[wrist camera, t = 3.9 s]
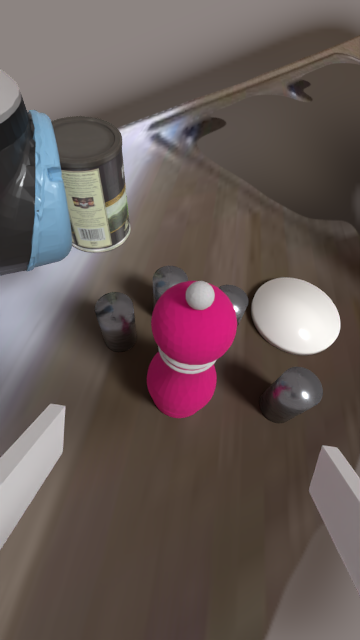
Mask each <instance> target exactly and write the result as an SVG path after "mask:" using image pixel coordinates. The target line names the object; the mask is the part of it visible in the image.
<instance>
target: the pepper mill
mask: <svg viewBox="0 0 360 640" xmlns="http://www.w3.org/2000/svg"><path fill="white" fill-rule="evenodd" d="M151 325H152V332H153V336H154V339H155V341H156V343H157V345H158V349H159V351H158V353H157V354H156V355H155V356H154V357H153V359H152V361H151V363H150V365H149V368H148V373H147V387H148V390H149V393H150V395H151V397H152V399H153V400H154V402H155V404H156V406H157V407H158V409H159V410H160V411H161V412H163V413H164V414H166V415H168V416H170V417H174V418H185V417H188V416H191V415H193V414H194V413H196V412H197V411H198V410H200V409H201V408H203V407H204V406H205V405H206V404H207V403H208V402H209V401H210V399H211V397H212V396H213V393H214V390H215V387H216V381H217V378H216V370H215V366H214V363H215V362H216V360H217V359H218V358H220V357H221V356H223V354H224V353H225V352H226V351H227V350H228V349H229V347H230V346H231V344H232V342H233V340H234V338H235V334H236V329H237V318H236V312H235V309H234V306H233V304H232V303H231V301H230V299H229V298H228V296H227V295H226V294H225V293H224V292H223V291H221V290H220V289H219V288H217V287H216V286H214V285H212V284H209V283H206V282H204V281H186V282H181V283H179V284H176V285H174V286H172V287H171V288H169V289H167V290H166V291H165V292H164V293H163V294H162V295H161V297H160V298H159V299H158V301H157V303H156V305H155V307H154V310H153V313H152V320H151Z"/></svg>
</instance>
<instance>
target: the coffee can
mask: <svg viewBox="0 0 360 640" xmlns="http://www.w3.org/2000/svg"><path fill="white" fill-rule="evenodd" d="M51 123H52V126H53V130H54V134H55V139H56V143H57V148H58V153H59V159H60V166H61V171H62V179H63V182H64V187H65V192H66V198H67V204H68V211H69V217H70V224H71V233H72V245H73V246H74V247H76V248H77V249H79V250H82V251H85V252H105V251H109V250H112V249H114V248H116V247H118V246H120V245H121V244H123V243H124V242H125V241H126V239H127V238H128V236H129V234H130V223H129V215H128V206H127V196H126V186H125V176H124V165H123V156H122V136H121V133H120V132H119V130H118V129H117V128H116V127H115V126H113V125H112V124H110V123H109V122H106V121H104V120H101V119H97V118H92V117H82V116H79V117H78V116H76V117H66V118H61V119H57V120H54V121H51Z"/></svg>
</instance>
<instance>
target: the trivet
mask: <svg viewBox="0 0 360 640" xmlns="http://www.w3.org/2000/svg"><path fill="white" fill-rule="evenodd" d="M251 316H252V320H253V323H254V325H255V327H256V329H257V330H258V332H259V333H260V334H261V336H262V337H263V338H264V339H265V340H266V341H267V342H269V343H270V344H271V345H273V346H274V347H276V348H278V349H280V350H282V351H284V352H287V353H290V354H294V355H313V354H317V353H320V352H322V351H324V350H325V349H326V348H328V347H329V346H330V345H331V344H332V343H333V342H334V341H335V340H336V338H337V336H338V334H339V331H340V317H339V313H338V311H337V309H336V307H335V305H334V303H333V302H332V301H331V299H330V298H329V297H328V296H327V295H326V294H325V293H324V292H323V291H321V290H320V289H319V288H317V287H316V286H314V285H312V284H310V283H308V282H306V281H303V280H299V279H295V278H277V279H273V280H270V281H268V282H266V283H265V284H263V285H262V286H261V287H260V288H259V289H258V290H257V292H256V294H255V296H254V298H253V300H252V303H251Z"/></svg>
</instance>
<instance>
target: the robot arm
mask: <svg viewBox="0 0 360 640" xmlns="http://www.w3.org/2000/svg"><path fill="white" fill-rule="evenodd" d="M71 248H72V233H71V224H70V217H69V211H68V204H67V198H66V192H65V187H64V182H63V179H62V171H61V166H60V159H59V153H58V148H57V143H56V139H55V134H54V130H53V126H52V123H51V120H50V118H49V117H48V116H47V115H46V114H44V113H38V112H37V111H36V110H29V112H28V113H27V110H26V107H25V104H24V101H23V98H22V95H21V92H20V89H19V87H18V85H17V83H16V82H15V80H14V79H13V78H11V77H10V76H9V75H8V74H6V73H5V72H4V71H2V70H1V69H0V275H5V274H10V273H15V272H20V271H25V270H26V271H30V270H33V269H34V267H38V266H42V265H46V264H50V263H54V262H58V261H61V260H62V259H64V258H65V257H66V256H67V255H68V254H69V252H70V250H71ZM64 421H65V406H63V405H56V404H50V405H49V406H48V407H47V408H46V409H45V410H44V411H43V412H42V413H41V414H40V415H39V417H38V418H37V419H36V420H35V421H34V422H33V423H32V424H31V425H30V426H29V427H28V428H27V430H26V431H25V432H24V433H23V434H22V435H21V436H20V437H19V438H18V439H17V440H16V442H15V443H14V444H13V445H12V446H11V447H10V448H9V449H8V450H7V451H6V452H5V453H4V455H3V456H2V457H1V458H0V549H1V548H2V546H3V545H4V543H5V542H6V540H7V539H8V537H9V535H10V534H11V532H12V531H13V529H14V528H15V526H16V524H17V523H18V521H19V520H20V518H21V517H22V515H23V514H24V512H25V510H26V509H27V507H28V506H29V504H30V503H31V501H32V499H33V498H34V496H35V495H36V493H37V492H38V490H39V489H40V487H41V485H42V484H43V482H44V481H45V479H46V478H47V476H48V475H49V473H50V471H51V470H52V468H53V467H54V465H55V464H56V462H57V460H58V459H59V457H60V456H61V454H62V453H63V439H64ZM309 492H310V494H311V496H312V498H313V500H314V502H315V505H316V507H317V509H318V511H319V513H320V515H321V517H322V519H323V521H324V523H325V525H326V527H327V529H328V532H329V534H330V536H331V538H332V540H333V542H334V544H335V546H336V548H337V550H338V552H339V554H340V556H341V558H342V561H343V563H344V565H345V567H346V569H347V571H348V573H349V575H350V577H351V579H352V581H353V583H354V586H355V588H356V590H357V592H358V594H359V596H360V478H359V477H358V475H357V474H356V473H355V471H354V470H353V468H352V467H351V466H350V464H349V463H348V462H347V460H346V459H345V457H344V456H343V455H342V453H341V452H340V451H339V449H338V448H336V447H330V446H323V445H322V448H321V451H320V455H319V458H318V461H317V465H316V468H315V471H314V475H313V478H312V481H311V484H310V488H309Z"/></svg>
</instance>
